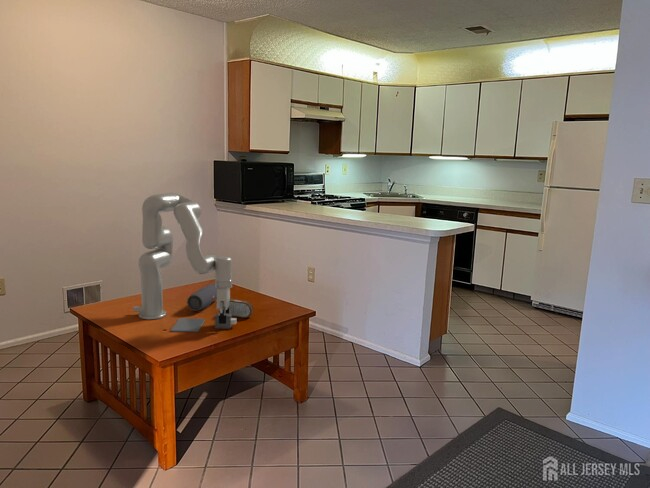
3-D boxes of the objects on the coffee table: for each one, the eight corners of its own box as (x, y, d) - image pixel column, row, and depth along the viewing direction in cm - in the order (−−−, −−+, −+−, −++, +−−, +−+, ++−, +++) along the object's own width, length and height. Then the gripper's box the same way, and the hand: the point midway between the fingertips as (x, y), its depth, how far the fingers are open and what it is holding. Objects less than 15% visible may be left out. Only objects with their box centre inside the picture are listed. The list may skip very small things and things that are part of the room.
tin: (253, 317, 237) (254, 301, 235) (251, 319, 234) (251, 302, 232) (225, 313, 240) (226, 297, 239) (222, 315, 237) (223, 299, 236)
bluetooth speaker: (203, 314, 238) (203, 294, 236) (186, 312, 240) (185, 292, 238) (222, 301, 260) (222, 283, 258) (206, 299, 261) (206, 281, 260)
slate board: (170, 331, 213) (170, 330, 213) (179, 319, 229) (179, 318, 229) (197, 332, 214) (197, 331, 214) (204, 320, 230) (204, 318, 230)
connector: (214, 328, 220) (214, 315, 219) (216, 325, 224) (216, 313, 222) (235, 328, 220) (235, 316, 219) (236, 325, 224) (236, 313, 223)
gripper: (218, 278, 226) (219, 313, 229) (212, 288, 209) (212, 326, 212) (234, 279, 227) (234, 313, 230) (229, 289, 210) (229, 326, 213)
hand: (224, 319), depth 221 cm, fingers open, 9 cm apart
